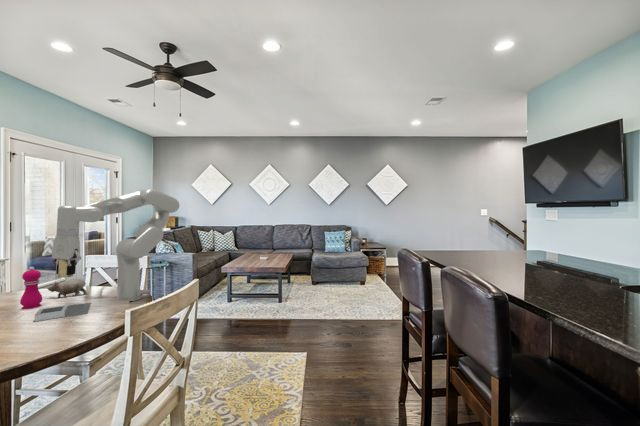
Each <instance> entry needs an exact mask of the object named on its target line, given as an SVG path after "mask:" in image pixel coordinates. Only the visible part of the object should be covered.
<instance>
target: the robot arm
mask: <svg viewBox="0 0 640 426" xmlns="http://www.w3.org/2000/svg"><path fill="white" fill-rule="evenodd" d="M147 205H151V206H153V211H154V212H153V215H152V216H151V217H150V218H149V219H148V220H147V221H145V223H143V224H142V225H141V226H140V227H138V228H137V230H136V231H135V233H134V234H135V235H134V236H135V239H134V238H124V239H122V240H120V241H119V242H118V243H117V245H116V248H115V251H116V252H115V254H116V259H117V284H116V286H117V287H116V288H117V293H116V294H117V296H116V298H117V299H118V300H128V302H129V303H131V302H130V301H132V302H136V301H139V300H141V299H142V298H144V297H143V295H147V294H150V289H141V287H140V275H141V274H140V270H141V269H140V267H141V265H140V259H141V258H144V257H145V256H147V254H149V253H150V252H151V250H153V249H154V248H155V247H156V246H157V245H158V244H159V243H160V242H161V241H162V240H163V237H164V230H163V229H164V228H165V227H167V224H168V223H169V220H170V214H172V213H175V212H178V210H179V208H180V202H179V200H178V199H177V198H175V197H173V196H171V195H169V194H166V193H164V192H161V191H159V190H157V189H154V188H143V189H138V190H135V191H131V192H128V193H125V194H122V195H117V196H115V197H111V198H107V199H105V200H104V199H103V200H100V201H95V202H92V203H90V204H86V205H83V206H76V205H60V206H59V207H58V208H57V214H56V215H57V218H56V232H55V233H56V235H55V237H54V240H53V244H52V248H51V250H52V251H51V258H52V259H53V260H54V262H55V266H56V269H55V270H56V271H55V274H56V275H58V269H59V259H65V260H68V265H69V266H67V275H72V274H73V275H75V274H76V266H77V265H78V263H79V261H81V260H82V257H81V241H80V237H79V236H80V222H82V223H96V222H98V221H100V220H101V219H102V218H103V216H109V215H114V214H121V213H126V212H129V211H132V210H135V209H137V208H141V207H144V206H147ZM70 258H71V259H70ZM71 260H73V261H72V262H71Z"/></svg>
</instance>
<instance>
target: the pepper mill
mask: <svg viewBox="0 0 640 426" xmlns="http://www.w3.org/2000/svg"><path fill="white" fill-rule="evenodd" d="M41 275H42V274H41V272H40V271H39V270H36V269H35V267H34V266H30V267H29V268H28V270H27V271H26V270H25V272H23V274H22V276H21V278H22V280H24V281H23V285H24V292H23V294H22V296H21V297H20V301H19V304H20V305H21V306H22V307H21V310H29V309H31V310H32V309H36V308H39V307H42V305H41V303H42V301H43V296H42V294H41V292H40V289H39V283H40V278H41Z"/></svg>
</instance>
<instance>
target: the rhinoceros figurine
mask: <svg viewBox="0 0 640 426" xmlns="http://www.w3.org/2000/svg"><path fill="white" fill-rule="evenodd" d="M86 284H87V283H86V282H85V280H83V279H82V278H72V279H69V280H66V281H54V284H52V285H51V283H49V286H46V289H47V290H48V291H50V292H51V293H53V292H56V293H58V294H57V299H59V298H61V295H62V296H63V299H67V298H68V296H67V295H70V294H71V295H72V294H74V295H73V297H75V298H76V297H77V296H78V295H79V294H81V293H80V292H82V295H83V296H85V295H87V293H88V292H87V289H85V288H84V287H85V285H86Z"/></svg>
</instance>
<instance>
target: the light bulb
mask: <svg viewBox="0 0 640 426" xmlns="http://www.w3.org/2000/svg"><path fill="white" fill-rule="evenodd" d="M70 259H71V258H70ZM72 261H73V260H71V262H72ZM67 266H69V265H68V260H65V259H59V269H58V274H57V278H60V279H61V278H71V277H74V274H72V275H67Z"/></svg>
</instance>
